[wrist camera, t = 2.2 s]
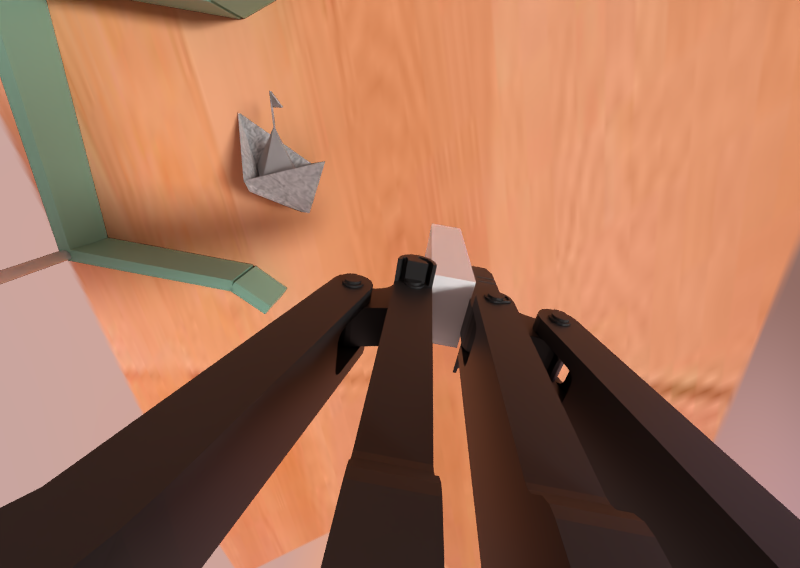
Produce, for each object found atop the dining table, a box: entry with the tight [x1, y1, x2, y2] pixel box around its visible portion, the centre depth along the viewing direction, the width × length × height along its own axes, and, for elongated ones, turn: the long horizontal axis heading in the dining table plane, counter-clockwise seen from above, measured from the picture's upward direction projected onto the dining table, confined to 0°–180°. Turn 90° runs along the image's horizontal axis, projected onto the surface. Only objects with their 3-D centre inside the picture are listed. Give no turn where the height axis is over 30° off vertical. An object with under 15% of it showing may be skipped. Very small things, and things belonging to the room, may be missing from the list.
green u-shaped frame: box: [0, 0, 287, 314], centre depth 20 cm, size 21×27×22 cm
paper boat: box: [238, 91, 325, 213], centre depth 26 cm, size 12×6×9 cm
